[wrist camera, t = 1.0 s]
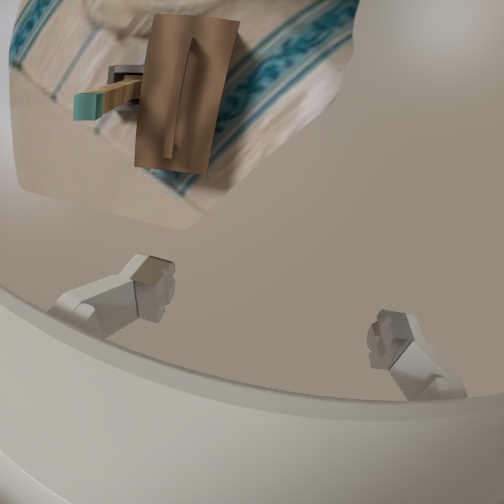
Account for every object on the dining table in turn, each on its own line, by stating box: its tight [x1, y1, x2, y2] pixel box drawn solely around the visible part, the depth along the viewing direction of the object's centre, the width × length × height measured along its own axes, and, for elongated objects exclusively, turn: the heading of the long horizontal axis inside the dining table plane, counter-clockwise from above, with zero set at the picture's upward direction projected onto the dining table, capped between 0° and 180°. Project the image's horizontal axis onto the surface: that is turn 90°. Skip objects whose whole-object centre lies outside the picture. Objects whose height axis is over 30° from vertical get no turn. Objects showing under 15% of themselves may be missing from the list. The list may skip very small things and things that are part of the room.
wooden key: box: [73, 74, 143, 120], centre depth 32 cm, size 4×4×21 cm
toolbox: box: [107, 14, 240, 175], centre depth 37 cm, size 21×27×12 cm
